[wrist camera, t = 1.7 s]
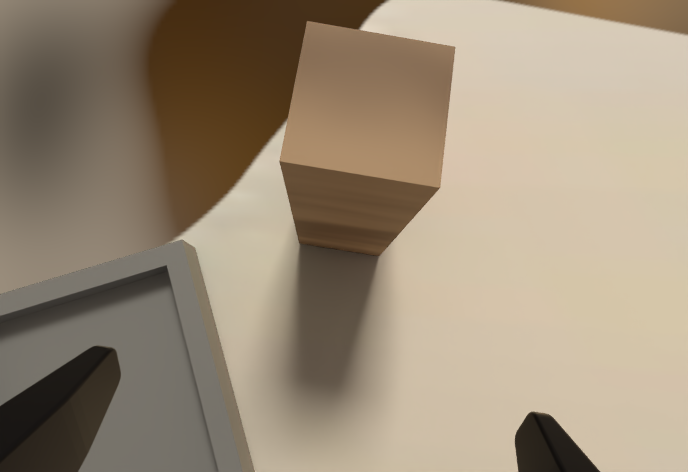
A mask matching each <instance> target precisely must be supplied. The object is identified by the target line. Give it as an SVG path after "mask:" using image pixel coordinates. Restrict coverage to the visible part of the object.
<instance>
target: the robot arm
mask: <svg viewBox="0 0 688 472" xmlns="http://www.w3.org/2000/svg"><path fill="white" fill-rule="evenodd" d="M120 379H121V370H120V365H119V360H118V355H117V351H116V350H115V349H114V348H113V347H107V346H100V345H96V346H93V347H91V348H89V349H87V350H86V351H84V352H83V353H81V354H80V355H78V356H77V357H75V358H73V359H72V360H70V361H69V362H67V363H66V364H64V365H63V366H61V367H60V368H58V369H56V370H55V371H53V372H52V373H50V374H49V375H47V376H46V377H44V378H42V379H41V380H39V381H38V382H36V383H35V384H33V385H32V386H30V387H29V388H27V389H25V390H24V391H22V392H21V393H19V394H18V395H16V396H15V397H13V398H12V399H10V400H8V401H7V402H5V403H4V404H2V405H1V406H0V472H78V471H79V469H80V467H81V466H82V464H83V462H84V460H85V458H86V456H87V454H88V452H89V450H90V448H91V446H92V444H93V442H94V439H95V437H96V435H97V433H98V430H99V428H100V426H101V424H102V421H103V419H104V417H105V414H106V412H107V410H108V408H109V405H110V403H111V401H112V399H113V396H114V394H115V392H116V389H117V387H118V385H119V382H120ZM515 448H516V456H517V464H518V472H600V471H599V470H598V469H597V468H596V466H595V465H594V464H593V463H592V462H591V461H590V459H589V458H588V457H587V456H586V455H585V454H584V453H583V451H582V450H581V449H580V448H579V447H578V446H577V444H576V443H575V442H574V441H573V440H572V439H571V438H570V436H569V435H568V434H567V433H566V432H565V431H564V429H563V428H562V427H561V426H560V425H559V424H558V423H557V421H556V420H555V419H554V418H553V417H552V416H550V415H549V414H545V413H539V412H530V413H529V414H528V415H527V416H526V418H525V419H524V421H523V423H522V424H521V426H520V427H519V429H518V431H517V432H516V435H515Z"/></svg>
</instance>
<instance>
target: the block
mask: <svg viewBox="0 0 688 472" xmlns="http://www.w3.org/2000/svg"><path fill="white" fill-rule="evenodd" d="M454 54H455V47H453V46H447V45H442V44H436V43H430V42H424V41H419V40H413V39H407V38H401V37H396V36H390V35H384V34H379V33H373V32H367V31H361V30H356V29H350V28H344V27H339V26H333V25H327V24H321V23H316V22H310V21H307V25H306V30H305V35H304V40H303V45H302V50H301V56H300V60H299V65H298V70H297V75H296V80H295V86H294V90H293V95H292V101H291V106H290V111H289V116H288V121H287V126H286V131H285V136H284V141H283V146H282V151H281V156H280V165H281V169H282V174H283V178H284V182H285V186H286V190H287V194H288V198H289V202H290V207H291V211H292V215H293V219H294V223H295V227H296V231H297V235H298V240H299V243H301V244H307V245H313V246H319V247H326V248H332V249H338V250H344V251H350V252H357V253H363V254H369V255H375V256H380V255H381V254H382V252H383V251H384V250H385V249H386V248H387V247H388V246H389V245H390V243H391V242H392V241H393V240H394V239H395V238H396V237H397V236H398V234H399V233H400V232H401V231H402V230H403V229H404V228H405V227H406V225H407V224H408V223H409V222H410V221H411V220H412V219H413V218H414V216H415V215H416V214H417V213H418V212H419V211H420V210H421V209H422V207H423V206H424V205H425V204H426V203H427V202H428V201H429V200H430V198H431V197H432V196H433V195H434V194H435V193H436V192H437V191H438V189H439V188H440V183H441V174H442V165H443V155H444V146H445V137H446V128H447V118H448V109H449V100H450V91H451V82H452V72H453V63H454Z"/></svg>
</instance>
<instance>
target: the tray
mask: <svg viewBox="0 0 688 472" xmlns="http://www.w3.org/2000/svg"><path fill="white" fill-rule="evenodd" d="M96 345H100V346H107V347H113V348H114V349H115V350H116V351H117V355H118V360H119V365H120V370H121V379H120V382H119V385H118V387H117V389H116V392H115V394H114V396H113V399H112V401H111V403H110V405H109V408H108V410H107V412H106V414H105V417H104V419H103V421H102V424H101V426H100V428H99V430H98V433H97V435H96V437H95V439H94V442H93V444H92V446H91V448H90V450H89V452H88V454H87V456H86V458H85V460H84V462H83V464H82V466H81V467H80V469H79V471H78V472H255V471H254V467H253V463H252V459H251V456H250V452H249V448H248V445H247V441H246V437H245V433H244V430H243V426H242V422H241V418H240V415H239V411H238V407H237V403H236V400H235V396H234V392H233V388H232V385H231V381H230V377H229V373H228V370H227V366H226V362H225V358H224V355H223V351H222V347H221V343H220V340H219V336H218V332H217V328H216V325H215V321H214V317H213V313H212V310H211V306H210V302H209V298H208V295H207V291H206V287H205V283H204V280H203V276H202V272H201V268H200V265H199V261H198V257H197V253H196V250H195V247H193V246H191V245H190V244H188V243H187V242H185V241H183V240H179V241H176V242H173V243H169V244H166V245H163V246H159V247H156V248H153V249H149V250H146V251H143V252H139V253H136V254H133V255H129V256H126V257H123V258H119V259H116V260H113V261H109V262H106V263H103V264H99V265H96V266H93V267H89V268H86V269H83V270H79V271H76V272H72V273H69V274H66V275H62V276H59V277H56V278H53V279H49V280H46V281H42V282H39V283H36V284H32V285H29V286H26V287H22V288H19V289H16V290H12V291H9V292H6V293H2V294H0V406H1V405H2V404H4V403H5V402H7V401H8V400H10V399H12V398H13V397H15V396H16V395H18V394H19V393H21V392H22V391H24V390H25V389H27V388H29V387H30V386H32V385H33V384H35V383H36V382H38V381H39V380H41V379H42V378H44V377H46V376H47V375H49V374H50V373H52V372H53V371H55V370H56V369H58V368H60V367H61V366H63V365H64V364H66V363H67V362H69V361H70V360H72V359H73V358H75V357H77V356H78V355H80V354H81V353H83V352H84V351H86V350H87V349H89V348H91V347H93V346H96Z"/></svg>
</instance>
